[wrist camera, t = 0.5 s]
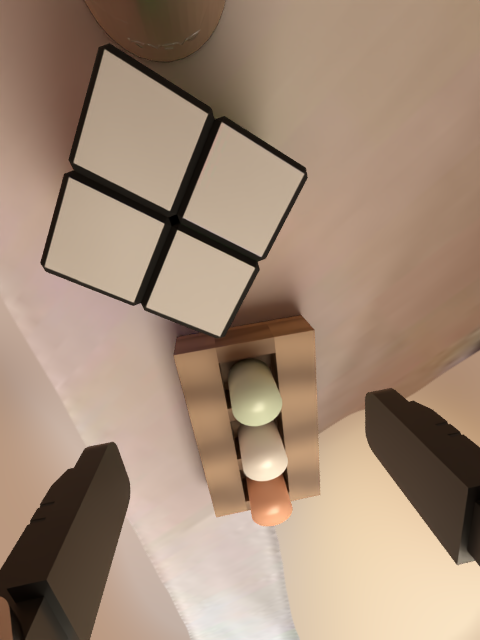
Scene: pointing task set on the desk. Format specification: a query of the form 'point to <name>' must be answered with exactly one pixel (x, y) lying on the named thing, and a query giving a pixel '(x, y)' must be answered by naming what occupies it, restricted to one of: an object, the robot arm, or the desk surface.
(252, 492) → the terracotta egg
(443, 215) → the desk surface
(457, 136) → the desk surface
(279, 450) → the cream white egg
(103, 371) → the desk surface
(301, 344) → the wooden egg rack
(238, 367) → the pale green piece
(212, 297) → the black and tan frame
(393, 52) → the desk surface
